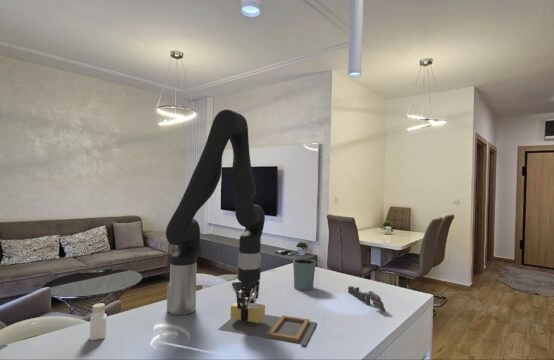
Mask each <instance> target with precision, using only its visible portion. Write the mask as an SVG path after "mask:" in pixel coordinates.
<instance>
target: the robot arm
mask: <svg viewBox="0 0 554 360" xmlns="http://www.w3.org/2000/svg"><path fill="white" fill-rule="evenodd" d="M247 121H248V120H247V119H246V117H245V116H243V115H242V114H241V113H239V112H236V111H234V110H232V109H228V108H225V109H221V110H220V111H218V112H217V114H216V115H215V116H214V118H213V120H212V124H211V126H210V130H209V134H208V137H207V139H206V142H205V145H204V148H203V150H202V153H201V155H200V157H199V159H198V162H197V164H196V166H195V168H194V170H193V172H192V174H191V177H190V179H189V182H188V183H187V187H186V189H185V191H184V193H183V196H182V197H181V200H180V202H179V204H178V206H177V207H176V209H175V212H174V213H173V215H172V216H171V218H170V220H169V222H168V224H167V226H166V229H165V238H166V240H167V242H168V244H170V245H172V246H177V248H176V250H175V251H174V252H173V253H171V255H170V257H169V264H170V265H169V283H168V284H167V285H166V286H167V287H166V290H167V291H166V312H168V313H169V314H171V315H175V316H183V315H189V314H192V313H194V312H195V311H196V307H197V304H196V302H197V301H196V300H197V263H198V262H197V258H198V256H199V253H200V244H201V243H200V242H201V241H200V240H201V228H200V224H199V222H198V221H197V219H195V216H196V214H197V213H198V211H199V210H200V209H201V208H202V207H203V206H204V205H205V204H206V203H207V202H208V201H209V199H210V198H211V197H212V196H213V194H214V192H215V190H216V189H217V187H218V184H219V182H220V180H221V178H222V172H223V155H224V152H225V149H226V146H227V145H228V142H230V144H231V148H232V153H233V154H232V156H233V157H232V166H231V179H232V184H233V189H234V194H235V201H234V202H235V204H234V205H235V207H234V208H235V209H234V212H235V217H236V221H237V223H238V224H239V225H240V226H242V227H244V231H243V233H242V234H241V235H240V236H239V240H238V241H239V245H238V247H239V248H238V257H237V281H238V282H241V283H242V285H241V290H240V291H237V292H235V294H236V301H237V308H238V309H241V320H242V321H247V320H248V306H249V302H250V303H257V300H258V298H259V294H260V293H259V292H260V283H261V282H260V280H261V269H262V268H261V266H262V265H261V264H262V263H261V261H262V256H261V242H262V241H261V238H262V234H263V232H264V227H265V221H266V216H265V215H266V214H265V211H264V208H263V207H262V206H261V205H259V204H254V197H255V196H256V194H257V187H256V182H255V179H254V174H253V169H252V164H251V155H250V144H249V143H250V142H249V125H248V122H247Z"/></svg>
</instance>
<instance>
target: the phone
mask: <svg viewBox="0 0 554 360" xmlns="http://www.w3.org/2000/svg"><path fill="white" fill-rule="evenodd" d="M231 285H232V288H233V290H234V292H235V293H236V292H237V291H240V290H241V285H242V283H241V281H236V282H235V281H233V282H232V283H231Z"/></svg>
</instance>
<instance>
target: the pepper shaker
mask: <svg viewBox="0 0 554 360" xmlns="http://www.w3.org/2000/svg"><path fill="white" fill-rule="evenodd" d="M105 312H106V304H105V303H103V302H102V303H95V304H94V305H92V315H91V316H90V319H89V320H90V321H89V323H90V324H89V340H90V341H97V340H103V339H105V338H106V336H107V321H108V320H107V316H108V315H107V313H105Z"/></svg>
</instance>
